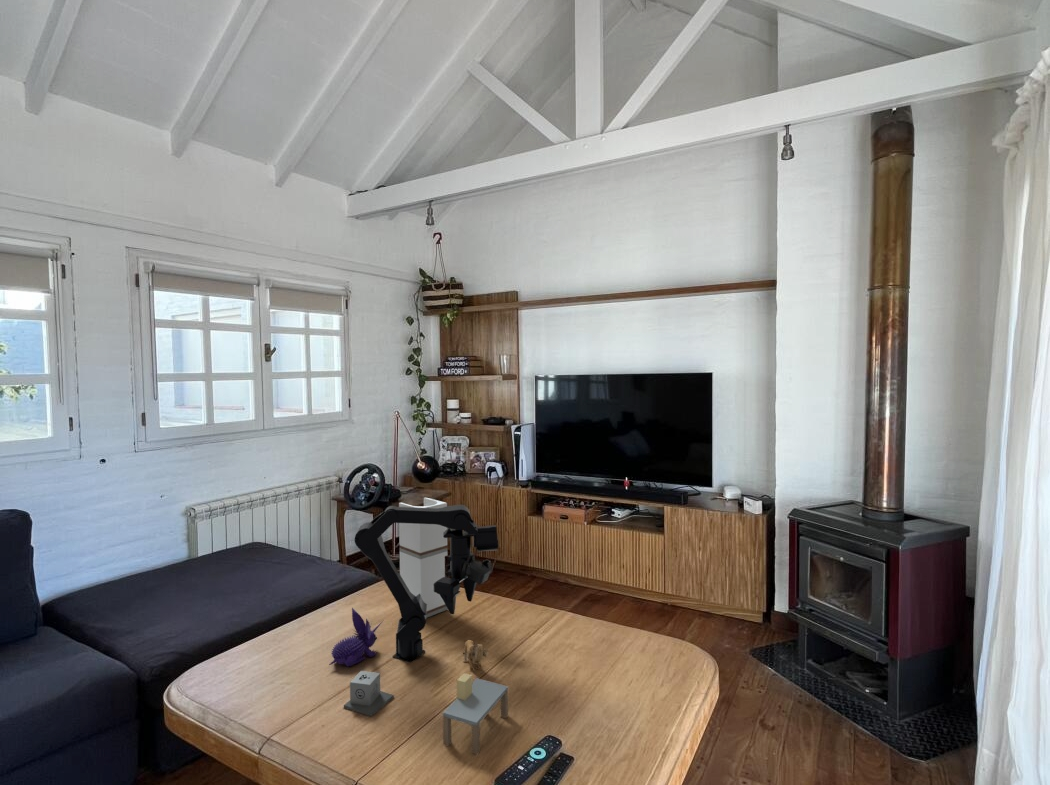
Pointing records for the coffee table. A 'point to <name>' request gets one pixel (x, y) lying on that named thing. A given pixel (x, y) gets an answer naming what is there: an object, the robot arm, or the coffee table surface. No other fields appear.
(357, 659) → the creature
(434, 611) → the white square tower
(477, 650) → the lion figurine
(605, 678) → the coffee table surface
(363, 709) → the mat
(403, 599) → the robot arm
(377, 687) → the dice cube
